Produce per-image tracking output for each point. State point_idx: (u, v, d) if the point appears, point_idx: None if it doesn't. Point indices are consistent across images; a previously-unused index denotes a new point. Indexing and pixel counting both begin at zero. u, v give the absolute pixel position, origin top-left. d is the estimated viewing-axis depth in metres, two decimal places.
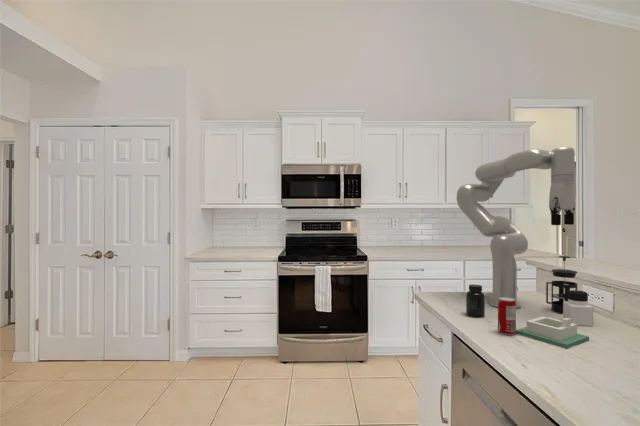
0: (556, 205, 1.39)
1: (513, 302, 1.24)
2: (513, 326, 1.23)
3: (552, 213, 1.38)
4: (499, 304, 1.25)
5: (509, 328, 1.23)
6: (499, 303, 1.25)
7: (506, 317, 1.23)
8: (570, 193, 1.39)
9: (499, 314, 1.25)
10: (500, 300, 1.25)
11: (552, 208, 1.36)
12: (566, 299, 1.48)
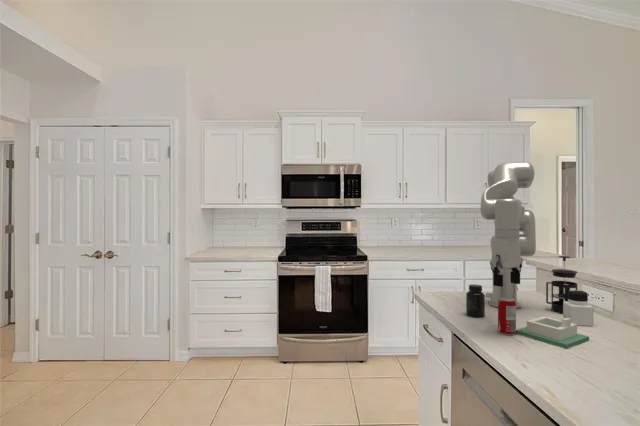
0: (499, 263, 1.24)
1: (513, 302, 1.24)
2: (513, 326, 1.23)
3: (493, 273, 1.23)
4: (499, 304, 1.25)
5: (509, 328, 1.23)
6: (499, 303, 1.25)
7: (506, 317, 1.23)
8: (514, 250, 1.24)
9: (499, 314, 1.25)
10: (500, 300, 1.25)
11: (493, 268, 1.21)
12: (566, 299, 1.48)
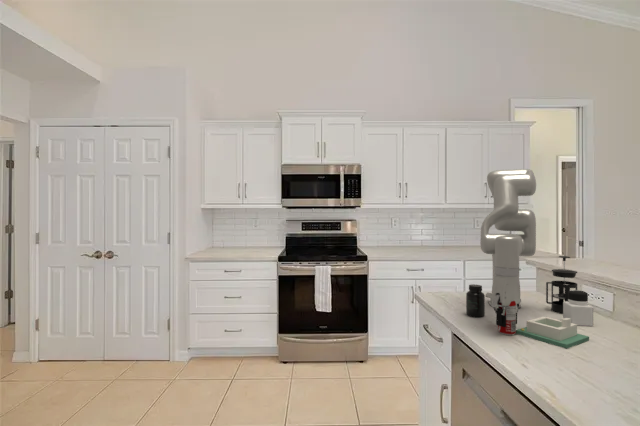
0: (500, 301, 1.25)
1: (513, 302, 1.24)
2: (513, 326, 1.23)
3: (496, 313, 1.24)
4: None
5: (509, 328, 1.23)
6: None
7: (506, 317, 1.23)
8: (514, 288, 1.24)
9: None
10: None
11: (496, 309, 1.22)
12: (566, 299, 1.48)
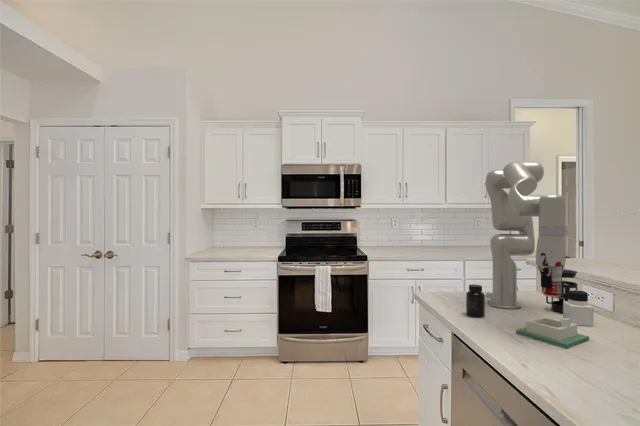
0: (545, 262, 1.21)
1: (559, 263, 1.19)
2: (559, 288, 1.19)
3: (541, 274, 1.20)
4: (544, 265, 1.21)
5: (555, 289, 1.19)
6: (544, 264, 1.21)
7: None
8: (560, 248, 1.20)
9: None
10: None
11: (542, 270, 1.18)
12: (566, 299, 1.48)
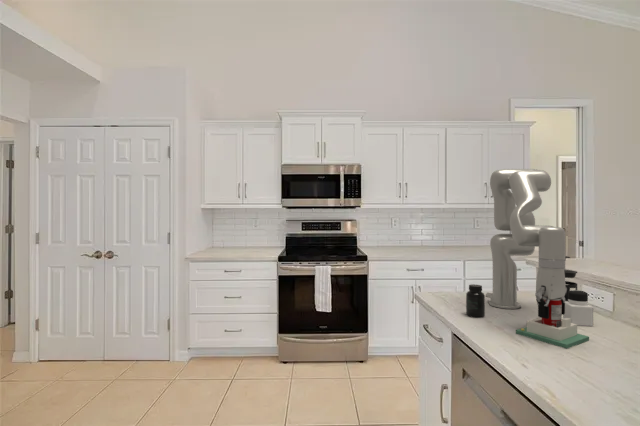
0: (544, 294, 1.21)
1: (559, 301, 1.20)
2: (559, 326, 1.19)
3: (539, 304, 1.19)
4: None
5: None
6: None
7: (551, 316, 1.20)
8: (560, 280, 1.20)
9: None
10: None
11: (539, 299, 1.18)
12: (566, 299, 1.48)
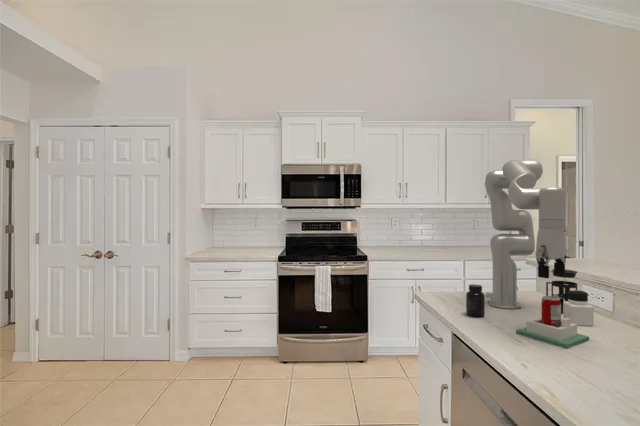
0: (544, 254, 1.20)
1: (558, 301, 1.20)
2: (558, 326, 1.19)
3: (539, 264, 1.19)
4: (543, 303, 1.22)
5: None
6: (543, 302, 1.22)
7: (550, 316, 1.20)
8: (560, 240, 1.20)
9: (543, 313, 1.22)
10: (544, 299, 1.21)
11: (539, 259, 1.17)
12: (566, 299, 1.48)
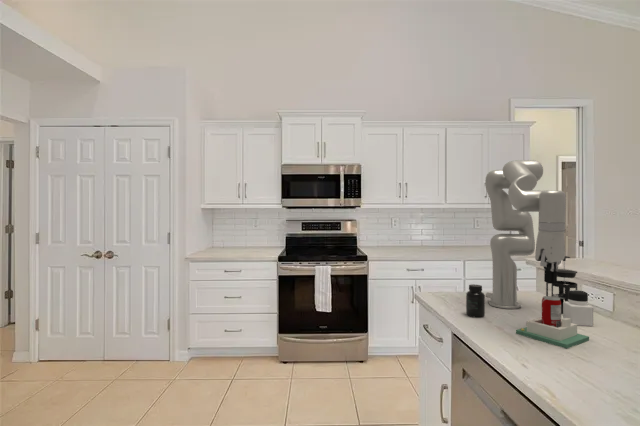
0: None
1: (558, 301, 1.20)
2: (558, 326, 1.19)
3: (545, 269, 1.22)
4: (543, 303, 1.22)
5: None
6: (543, 302, 1.22)
7: (550, 316, 1.20)
8: (560, 243, 1.20)
9: (543, 313, 1.22)
10: (544, 299, 1.22)
11: (546, 266, 1.20)
12: (566, 299, 1.48)
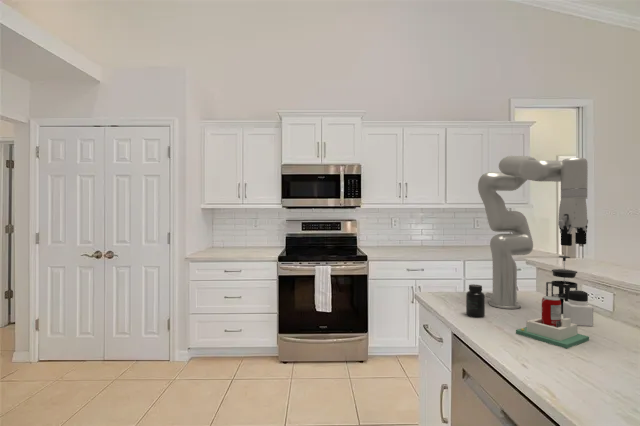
0: (566, 223, 1.24)
1: (558, 301, 1.20)
2: (558, 326, 1.19)
3: (561, 232, 1.22)
4: (543, 303, 1.22)
5: None
6: (543, 302, 1.22)
7: (550, 316, 1.20)
8: (582, 209, 1.23)
9: (543, 313, 1.22)
10: (544, 299, 1.22)
11: (562, 227, 1.21)
12: (566, 299, 1.48)
